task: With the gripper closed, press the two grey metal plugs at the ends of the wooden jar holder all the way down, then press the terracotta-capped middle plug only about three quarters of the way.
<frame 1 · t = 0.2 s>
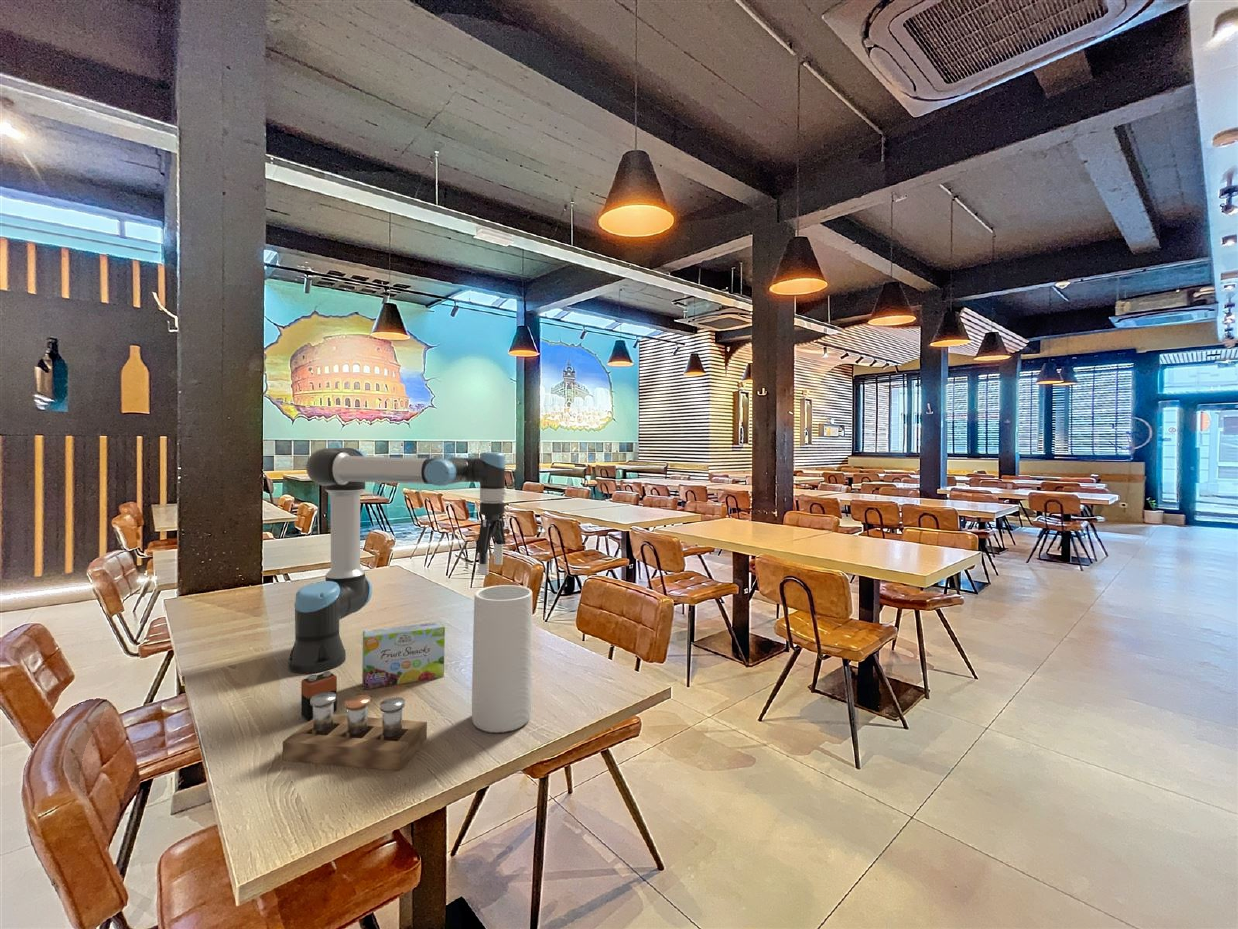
hand: (491, 569, 171), 28 cm above the table, fingers open, 13 cm apart
battery: (319, 714, 134), on the table
plug a: (323, 711, 120), point 8 cm above the table, slide at 0.0 cm
snack box: (404, 681, 154), on the table
plug mid: (357, 714, 119), point 8 cm above the table, slide at 0.0 cm
vase: (501, 720, 133), on the table
plug b: (392, 717, 118), point 8 cm above the table, slide at 0.0 cm
wooden jar holder: (357, 749, 119), on the table
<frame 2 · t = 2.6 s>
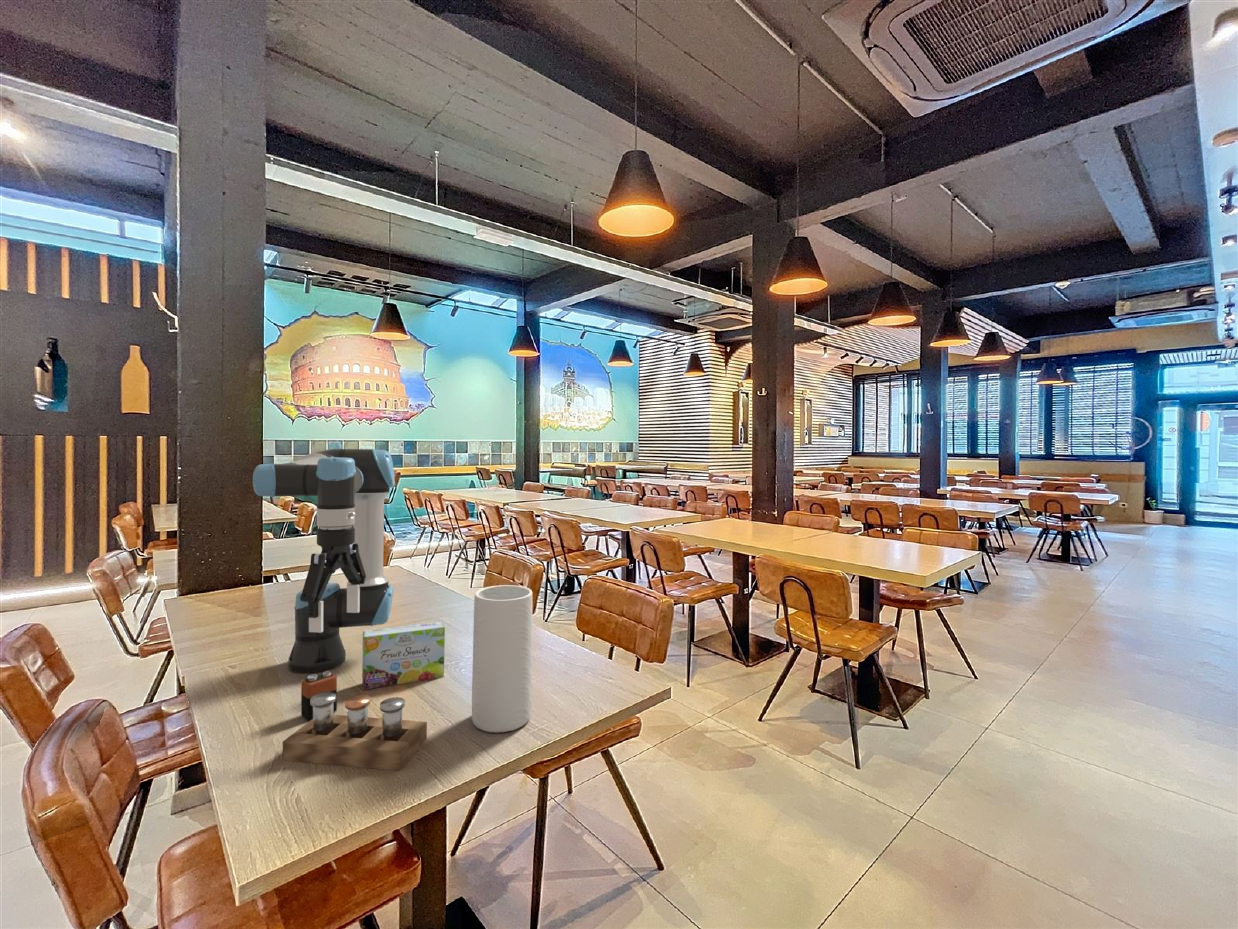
hand: (335, 621, 121), 27 cm above the table, fingers open, 13 cm apart
nothing on the table moved.
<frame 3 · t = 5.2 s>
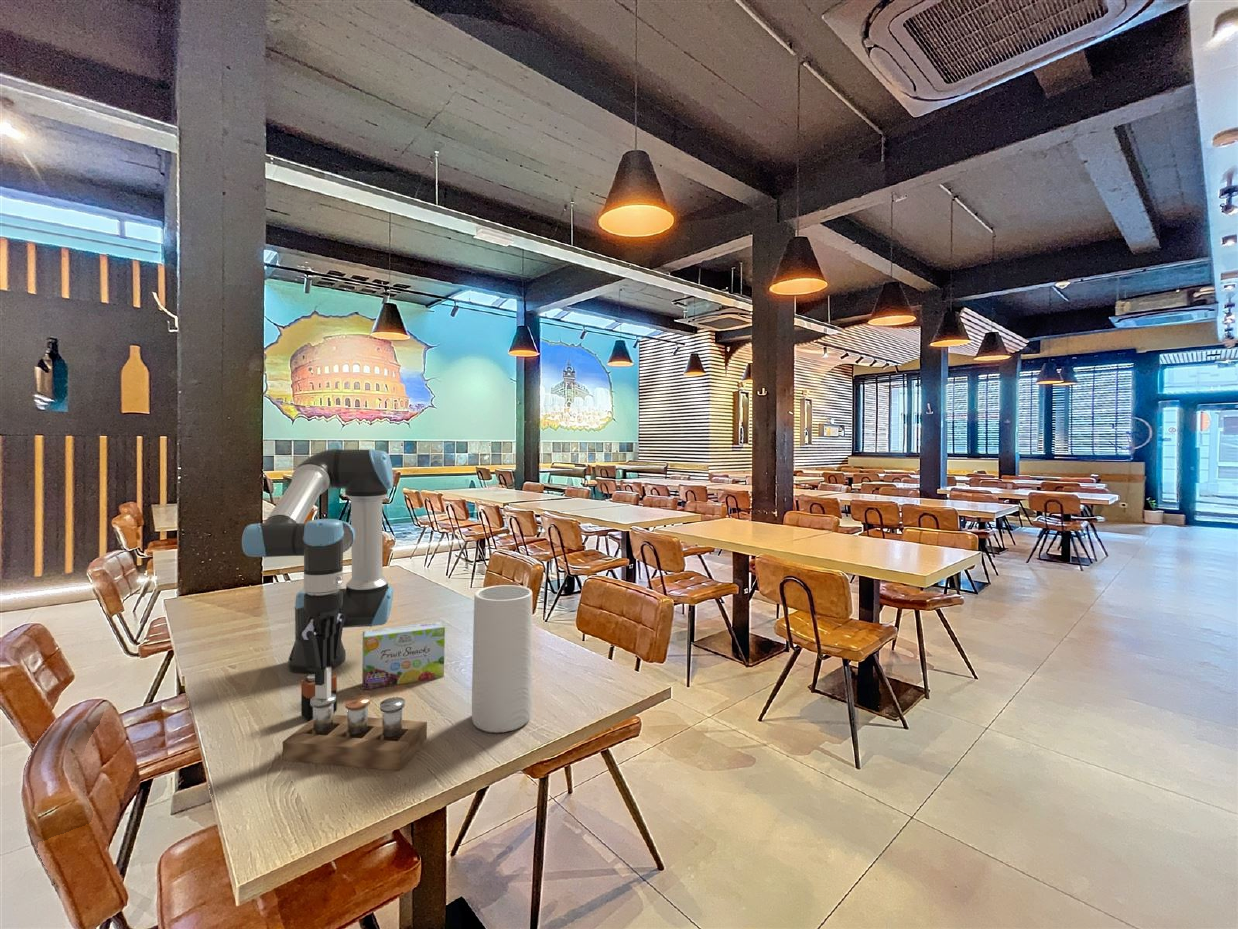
hand: (323, 697, 119), 11 cm above the table, fingers closed
plug a: (323, 712, 120), point 8 cm above the table, slide at 0.1 cm, touching gripper
everything else where it was.
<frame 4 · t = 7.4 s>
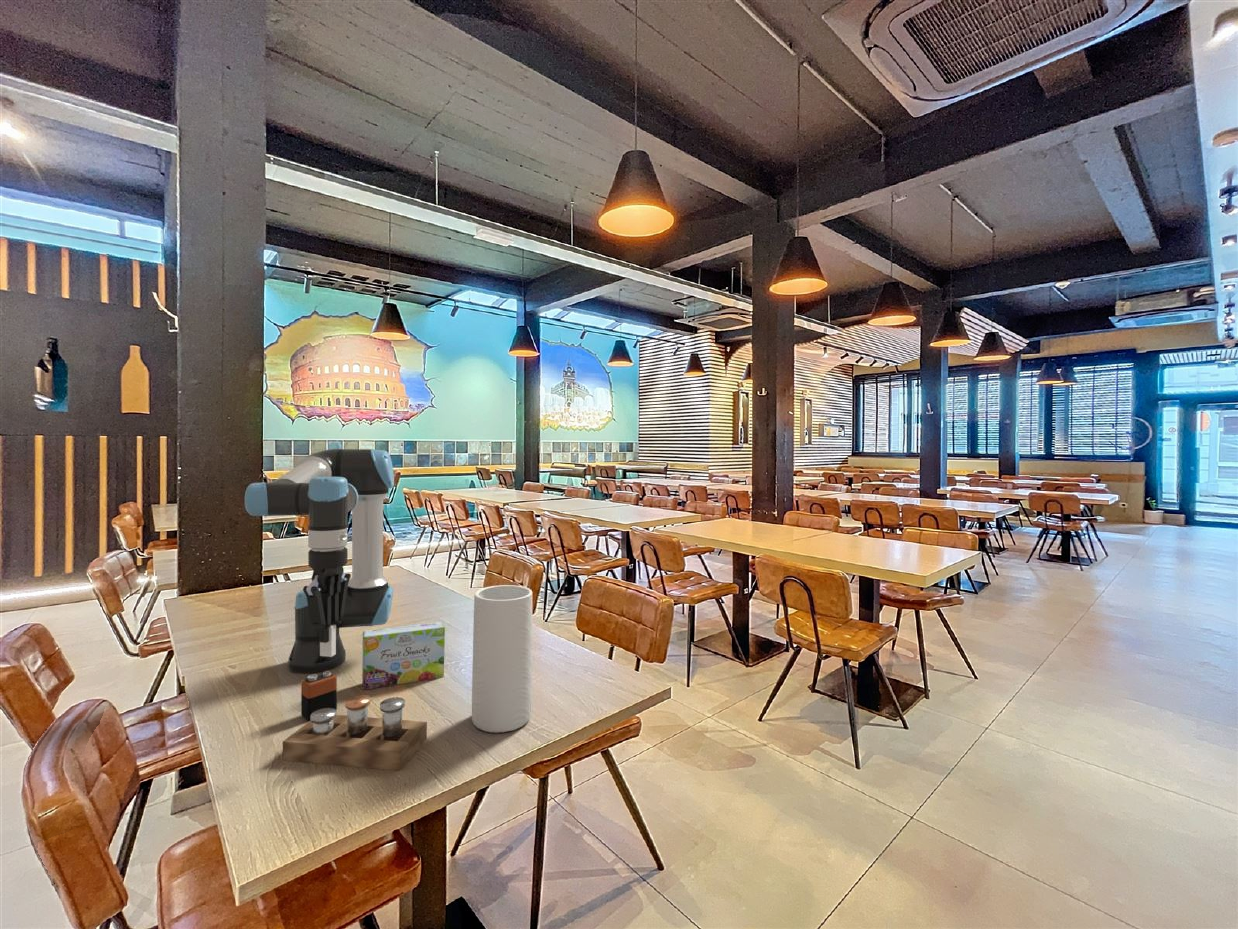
hand: (327, 655, 119), 21 cm above the table, fingers closed
plug a: (323, 728, 120), point 4 cm above the table, slide at 3.6 cm
everything else where it was.
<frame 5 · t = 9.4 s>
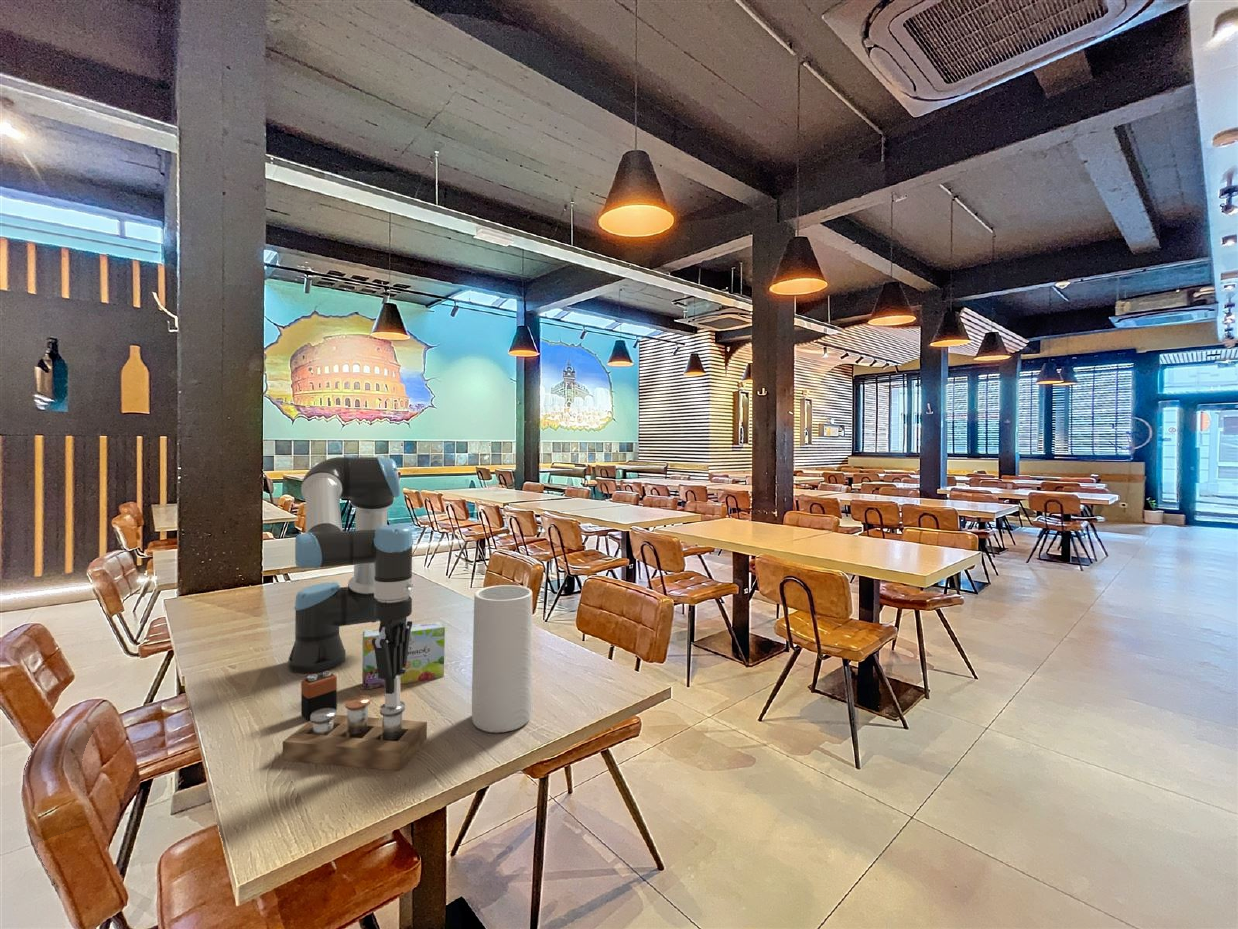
hand: (392, 705, 118), 10 cm above the table, fingers closed
plug b: (392, 721, 118), point 7 cm above the table, slide at 0.8 cm, touching gripper
everything else where it was.
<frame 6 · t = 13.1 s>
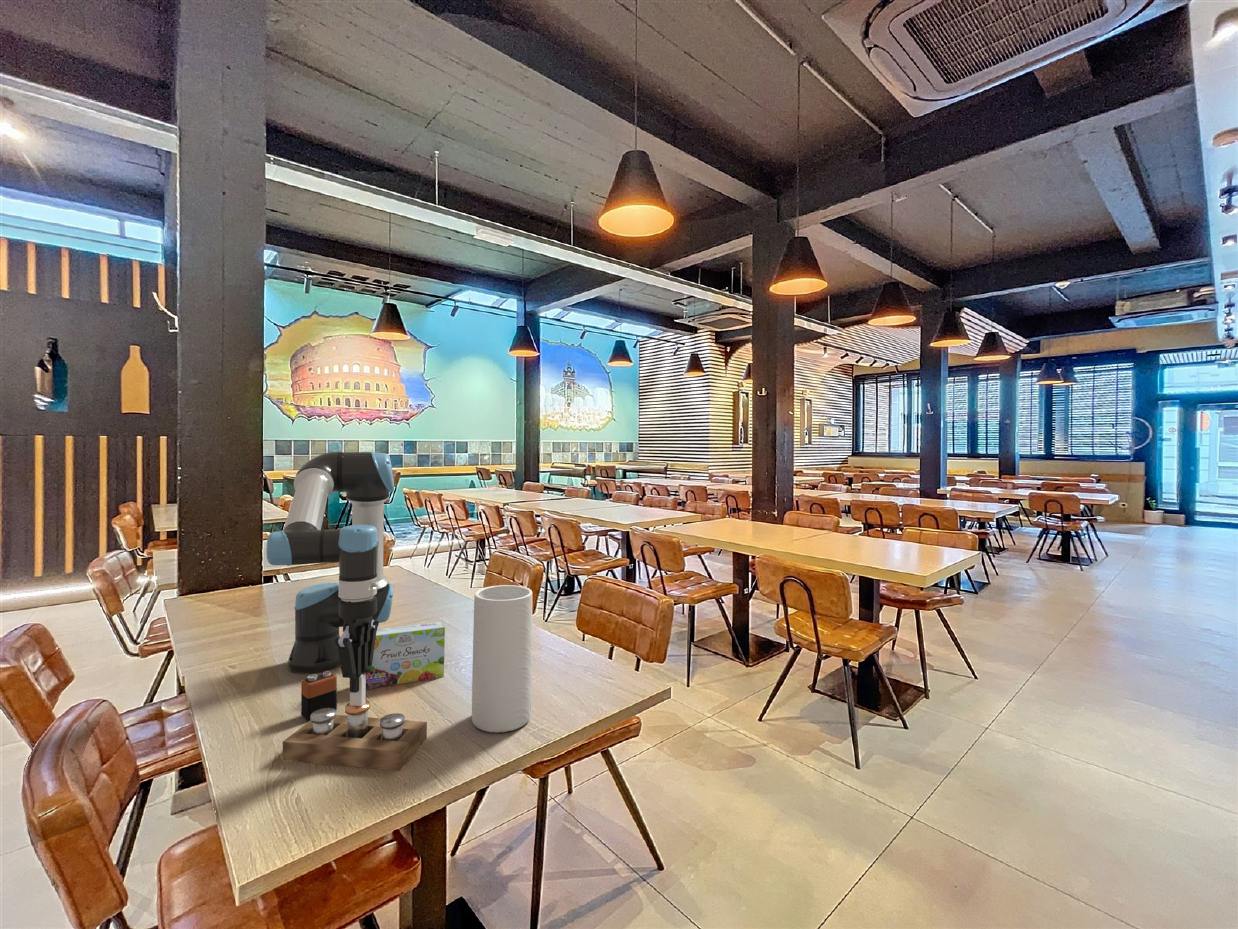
hand: (357, 704, 119), 10 cm above the table, fingers closed
plug mid: (357, 719, 119), point 7 cm above the table, slide at 1.1 cm, touching gripper
plug b: (392, 733, 118), point 4 cm above the table, slide at 3.6 cm
everything else where it was.
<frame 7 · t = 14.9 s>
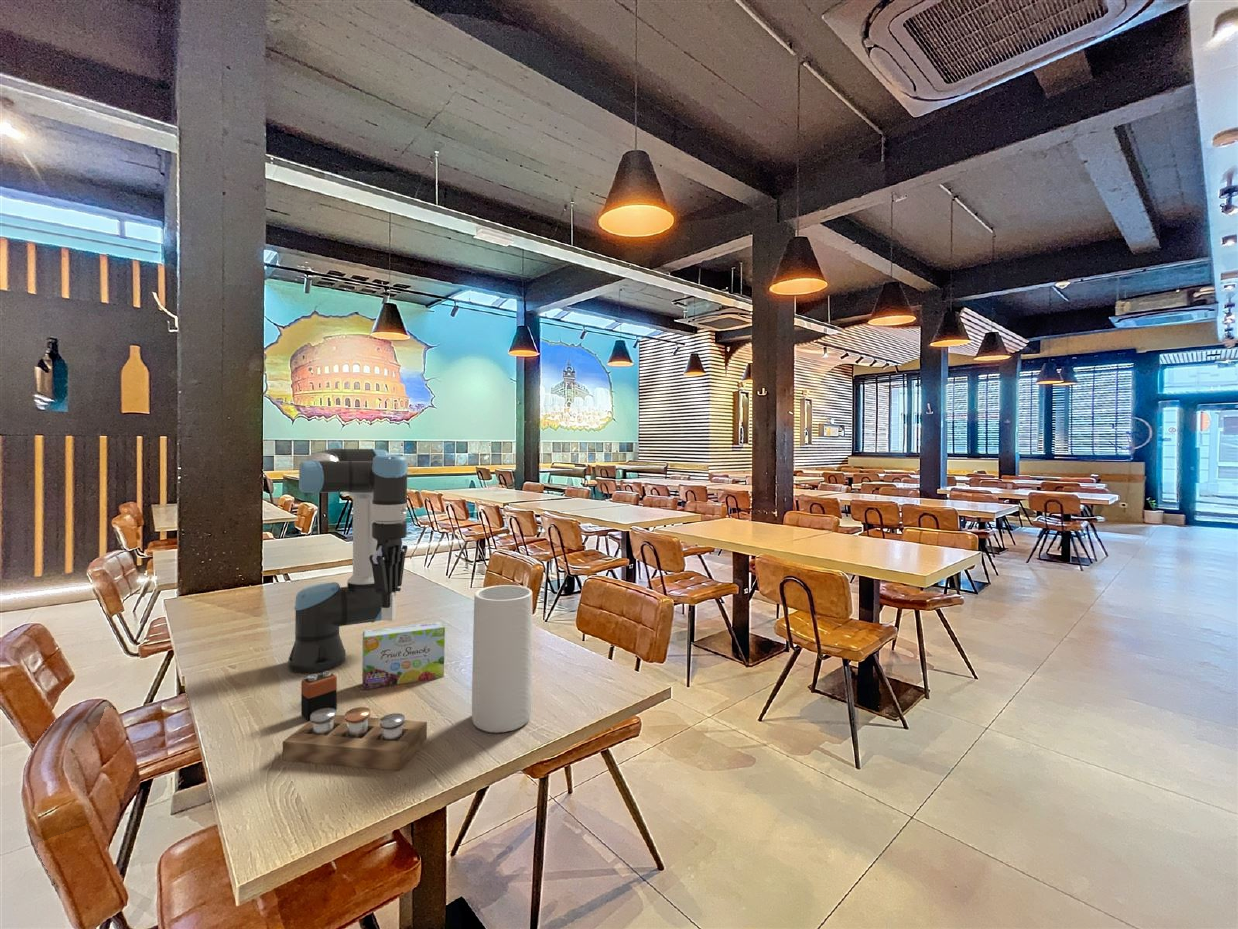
hand: (388, 619, 129), 25 cm above the table, fingers closed
plug mid: (357, 727, 119), point 5 cm above the table, slide at 2.8 cm
everything else where it was.
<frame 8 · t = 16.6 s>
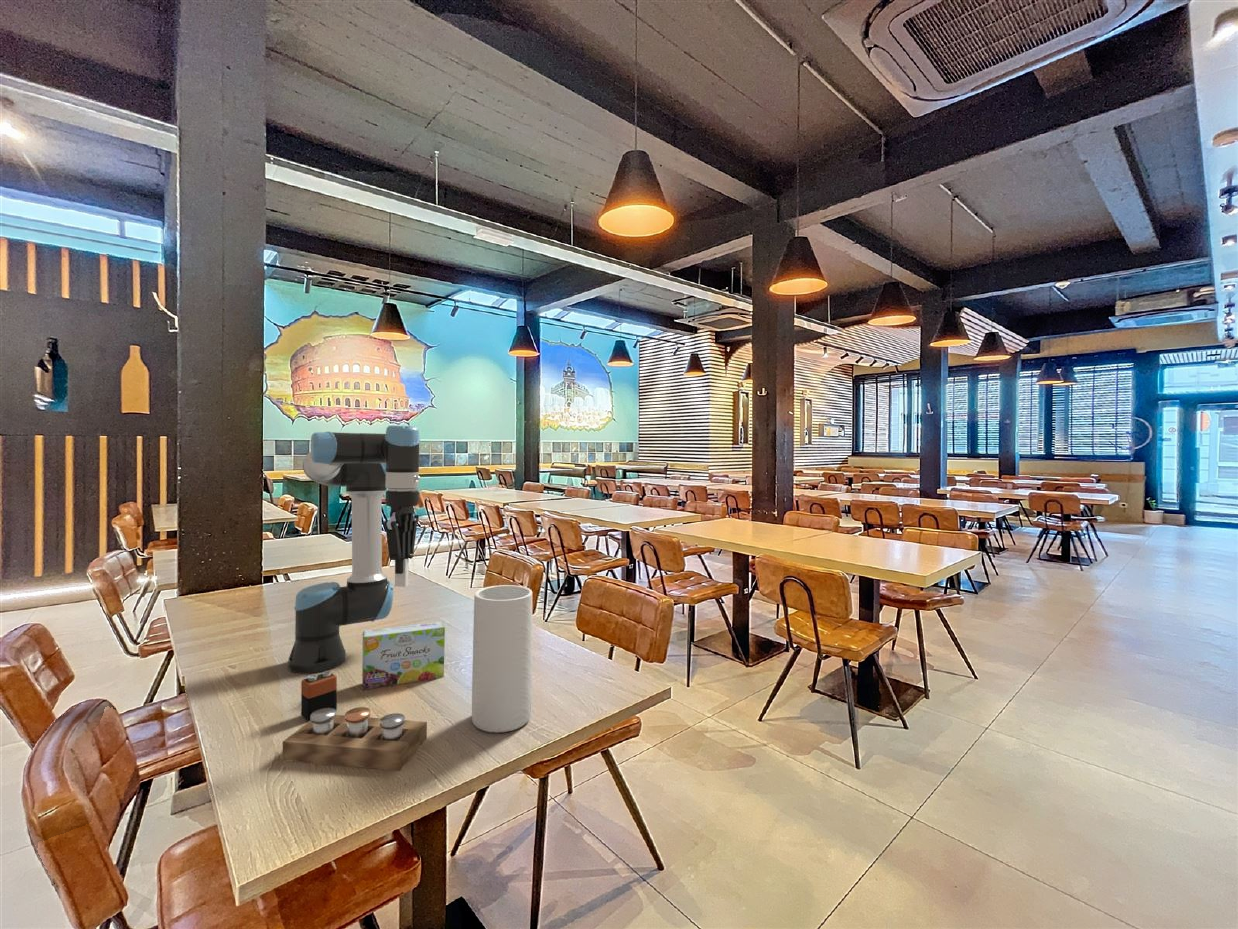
hand: (401, 585, 133), 32 cm above the table, fingers closed
nothing on the table moved.
at the end: plug a slide at 3.6 cm; plug b slide at 3.6 cm; plug mid slide at 2.8 cm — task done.
